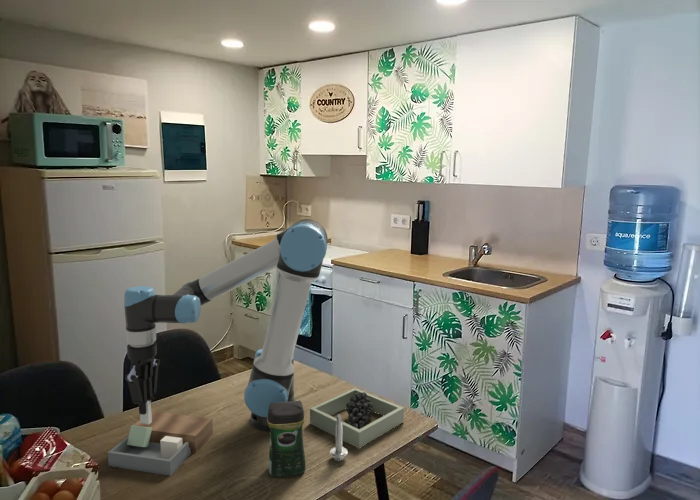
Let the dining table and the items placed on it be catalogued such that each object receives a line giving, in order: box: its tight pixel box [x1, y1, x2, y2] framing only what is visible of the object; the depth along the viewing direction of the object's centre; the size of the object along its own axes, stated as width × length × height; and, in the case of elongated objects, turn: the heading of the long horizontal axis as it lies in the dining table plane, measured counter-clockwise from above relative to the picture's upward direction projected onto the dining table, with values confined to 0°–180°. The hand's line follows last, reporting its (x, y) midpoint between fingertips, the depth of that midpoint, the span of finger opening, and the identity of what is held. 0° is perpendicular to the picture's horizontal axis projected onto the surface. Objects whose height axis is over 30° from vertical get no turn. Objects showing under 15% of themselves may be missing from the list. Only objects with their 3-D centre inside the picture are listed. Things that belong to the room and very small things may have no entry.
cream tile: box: [160, 436, 183, 459], centre depth 138 cm, size 5×5×2 cm
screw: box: [329, 413, 349, 462], centre depth 138 cm, size 13×5×5 cm
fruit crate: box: [309, 387, 405, 449], centre depth 158 cm, size 20×20×5 cm
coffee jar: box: [267, 400, 307, 478], centre depth 132 cm, size 10×8×19 cm
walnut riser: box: [130, 410, 214, 453], centre depth 148 cm, size 20×10×5 cm, turn 78°
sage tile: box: [127, 424, 152, 447], centre depth 142 cm, size 5×5×2 cm
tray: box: [107, 434, 192, 477], centre depth 137 cm, size 18×10×4 cm, turn 78°
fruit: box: [346, 391, 374, 429], centre depth 157 cm, size 9×8×15 cm
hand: (146, 422), depth 145 cm, fingers closed
